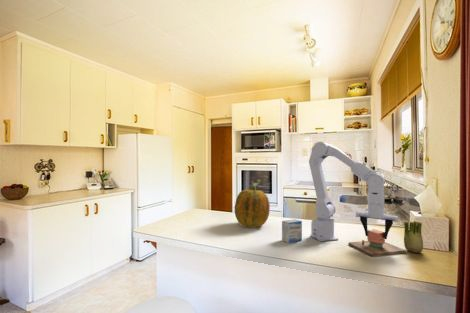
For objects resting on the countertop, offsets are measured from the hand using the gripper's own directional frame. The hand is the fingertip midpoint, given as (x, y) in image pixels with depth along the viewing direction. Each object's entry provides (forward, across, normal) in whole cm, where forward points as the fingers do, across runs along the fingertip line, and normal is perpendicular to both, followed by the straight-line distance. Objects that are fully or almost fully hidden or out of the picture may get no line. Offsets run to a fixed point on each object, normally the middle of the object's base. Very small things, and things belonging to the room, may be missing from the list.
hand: (376, 236), depth 92 cm
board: (+5, 0, 0) cm, 5 cm away
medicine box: (+5, +32, +10) cm, 34 cm away
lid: (+2, 0, 0) cm, 2 cm away
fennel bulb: (+5, -12, -5) cm, 14 cm away
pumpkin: (+5, +57, +1) cm, 57 cm away
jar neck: (+5, 0, 0) cm, 5 cm away
